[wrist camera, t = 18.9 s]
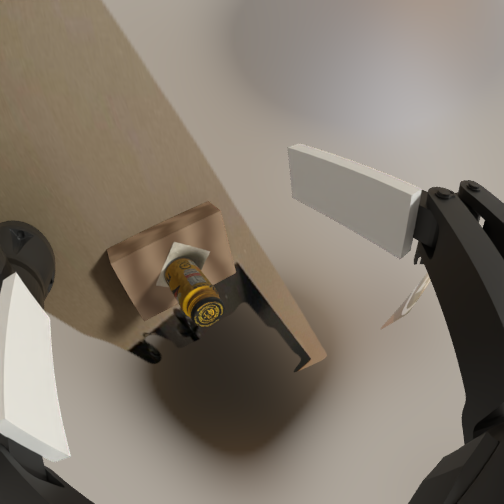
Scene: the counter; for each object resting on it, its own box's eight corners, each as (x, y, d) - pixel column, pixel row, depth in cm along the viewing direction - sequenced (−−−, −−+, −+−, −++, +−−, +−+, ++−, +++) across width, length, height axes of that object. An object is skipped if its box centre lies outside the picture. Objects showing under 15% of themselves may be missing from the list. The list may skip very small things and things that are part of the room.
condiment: (155, 284, 48) (180, 330, 40) (173, 241, 46) (204, 281, 38) (190, 290, 53) (220, 333, 44) (209, 250, 51) (245, 288, 43)
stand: (137, 305, 54) (144, 321, 50) (106, 249, 45) (110, 263, 42) (224, 260, 61) (236, 272, 57) (208, 201, 52) (220, 210, 48)
